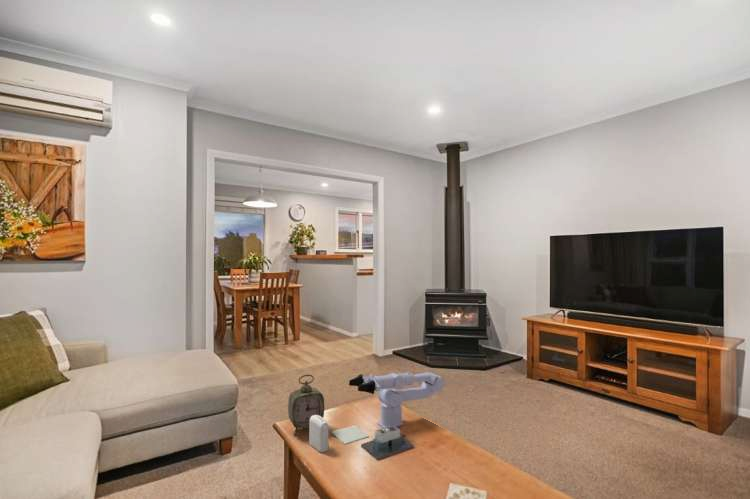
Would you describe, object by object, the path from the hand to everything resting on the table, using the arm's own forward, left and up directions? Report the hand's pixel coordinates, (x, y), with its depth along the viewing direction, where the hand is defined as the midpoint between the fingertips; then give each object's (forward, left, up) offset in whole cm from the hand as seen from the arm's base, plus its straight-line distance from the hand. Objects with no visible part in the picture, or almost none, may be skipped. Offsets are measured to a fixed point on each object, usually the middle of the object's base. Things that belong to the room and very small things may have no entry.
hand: (353, 385), depth 165 cm
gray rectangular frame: (-7, +16, -18) cm, 25 cm away
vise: (-7, +16, -22) cm, 28 cm away
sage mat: (+1, -1, -22) cm, 22 cm away
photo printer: (+17, +1, -22) cm, 28 cm away
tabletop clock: (+16, -15, -22) cm, 31 cm away
